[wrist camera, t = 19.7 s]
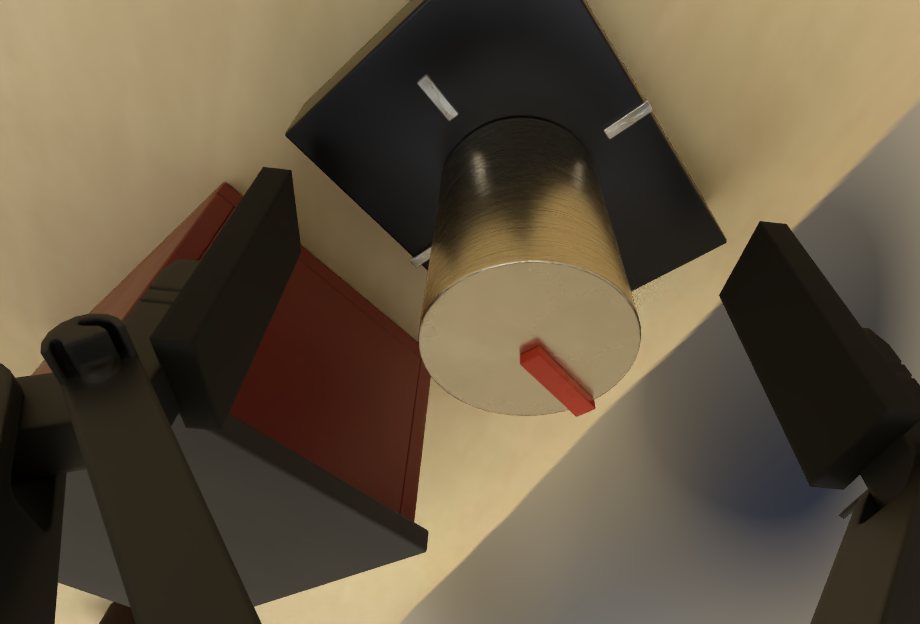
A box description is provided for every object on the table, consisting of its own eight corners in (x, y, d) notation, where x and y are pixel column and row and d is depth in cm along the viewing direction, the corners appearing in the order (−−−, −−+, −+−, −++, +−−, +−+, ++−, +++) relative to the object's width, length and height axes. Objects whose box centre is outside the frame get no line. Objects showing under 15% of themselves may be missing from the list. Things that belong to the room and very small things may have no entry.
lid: (110, 340, 14) (92, 364, 13) (429, 530, 19) (427, 552, 19) (-81, 509, 21) (-98, 529, 20) (195, 610, 27) (188, 628, 26)
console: (302, 105, 19) (279, 139, 17) (524, -111, 14) (529, -100, 12) (509, 313, 24) (511, 356, 22) (709, 203, 20) (732, 244, 18)
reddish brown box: (224, 181, 21) (100, 347, 14) (433, 355, 27) (413, 529, 20) (57, 343, 27) (-80, 508, 21) (254, 454, 33) (196, 609, 27)
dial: (408, 181, 17) (370, 343, 12) (537, 80, 15) (562, 225, 10) (502, 278, 20) (505, 448, 14) (625, 204, 18) (684, 373, 12)
